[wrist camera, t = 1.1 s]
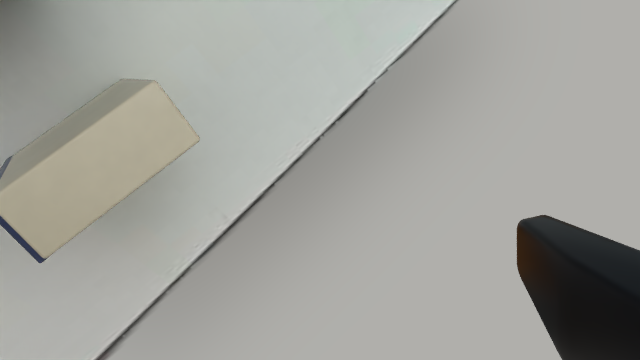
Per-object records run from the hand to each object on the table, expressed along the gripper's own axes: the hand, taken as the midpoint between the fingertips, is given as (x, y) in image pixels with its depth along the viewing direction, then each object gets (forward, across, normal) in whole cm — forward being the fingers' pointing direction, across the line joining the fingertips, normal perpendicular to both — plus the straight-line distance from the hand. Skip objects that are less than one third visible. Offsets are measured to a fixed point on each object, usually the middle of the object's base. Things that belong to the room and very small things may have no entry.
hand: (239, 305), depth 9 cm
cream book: (+14, +6, +2) cm, 15 cm away
